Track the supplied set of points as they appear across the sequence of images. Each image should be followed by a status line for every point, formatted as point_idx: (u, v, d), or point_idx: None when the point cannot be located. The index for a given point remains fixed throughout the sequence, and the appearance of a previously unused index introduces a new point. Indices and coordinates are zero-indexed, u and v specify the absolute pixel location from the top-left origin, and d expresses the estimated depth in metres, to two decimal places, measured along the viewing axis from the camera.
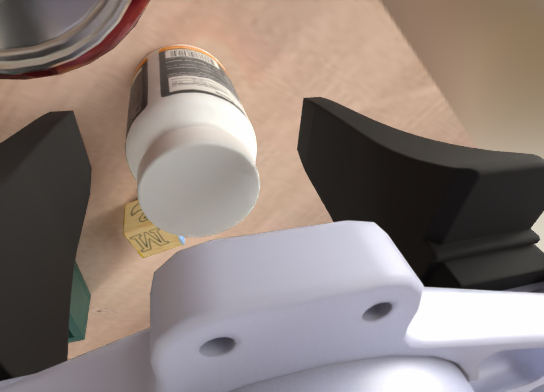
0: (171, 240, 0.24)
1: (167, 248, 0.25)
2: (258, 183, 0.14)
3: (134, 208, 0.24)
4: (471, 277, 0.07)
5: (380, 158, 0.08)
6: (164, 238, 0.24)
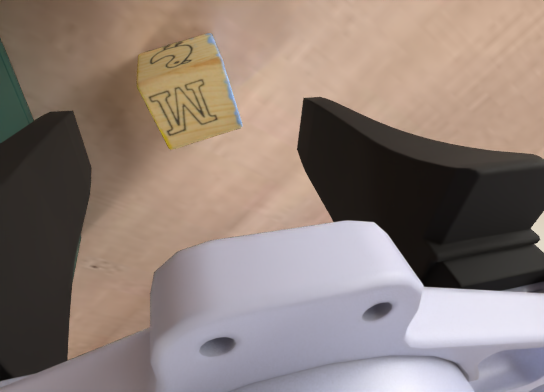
0: (221, 115, 0.13)
1: (213, 132, 0.14)
2: None
3: (155, 56, 0.13)
4: (471, 277, 0.07)
5: (381, 158, 0.08)
6: (210, 107, 0.13)
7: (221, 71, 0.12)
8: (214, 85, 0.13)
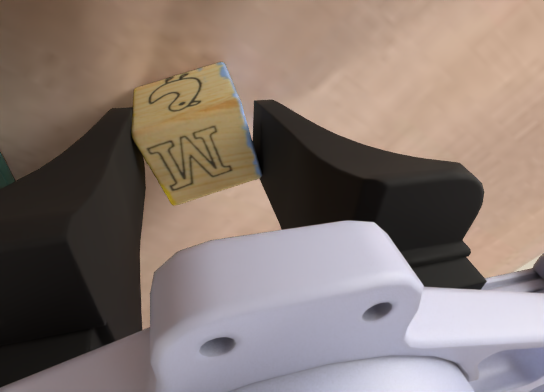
0: (237, 165, 0.11)
1: (226, 184, 0.11)
2: None
3: (155, 92, 0.11)
4: None
5: (311, 164, 0.08)
6: (223, 157, 0.11)
7: (239, 116, 0.10)
8: (229, 131, 0.10)
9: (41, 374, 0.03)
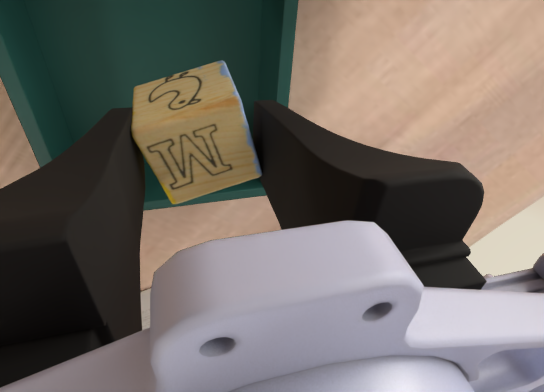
0: (237, 164, 0.11)
1: (226, 183, 0.11)
2: None
3: (155, 91, 0.11)
4: None
5: (311, 164, 0.08)
6: (224, 156, 0.10)
7: (239, 114, 0.10)
8: (229, 130, 0.10)
9: (41, 374, 0.03)
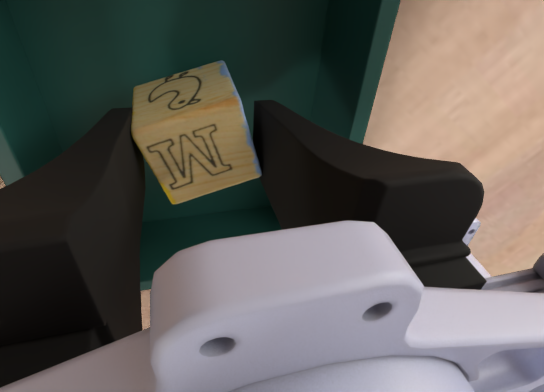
0: (237, 164, 0.11)
1: (226, 183, 0.11)
2: None
3: (155, 91, 0.11)
4: None
5: (310, 165, 0.08)
6: (223, 156, 0.10)
7: (239, 114, 0.10)
8: (229, 130, 0.10)
9: (41, 374, 0.03)
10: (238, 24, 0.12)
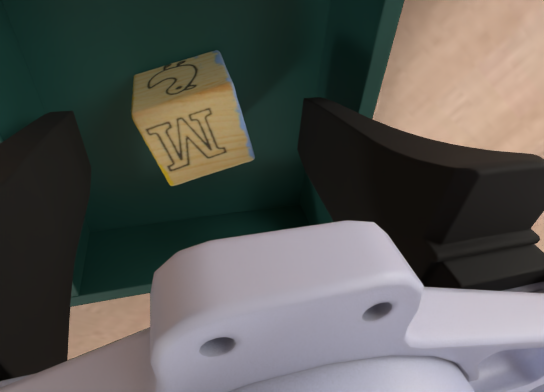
0: (231, 147, 0.12)
1: (221, 166, 0.12)
2: None
3: (154, 78, 0.11)
4: (471, 277, 0.07)
5: (381, 157, 0.08)
6: (218, 139, 0.11)
7: (232, 98, 0.10)
8: (223, 114, 0.11)
9: (41, 374, 0.03)
10: (239, 25, 0.12)
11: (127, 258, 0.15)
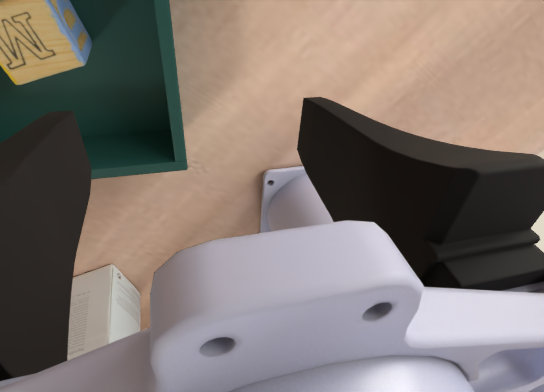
0: (58, 50, 0.15)
1: (55, 68, 0.15)
2: None
3: None
4: (471, 277, 0.07)
5: (380, 158, 0.08)
6: (44, 42, 0.14)
7: (44, 4, 0.13)
8: (41, 18, 0.14)
9: (41, 374, 0.03)
10: None
11: None
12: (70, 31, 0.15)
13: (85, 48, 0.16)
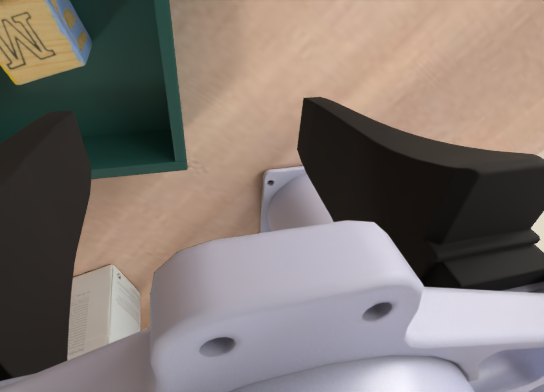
0: (58, 50, 0.15)
1: (55, 68, 0.15)
2: None
3: None
4: (471, 277, 0.07)
5: (380, 158, 0.08)
6: (44, 42, 0.14)
7: (44, 4, 0.13)
8: (41, 18, 0.14)
9: (41, 374, 0.03)
10: None
11: None
12: (70, 31, 0.15)
13: (85, 48, 0.16)
